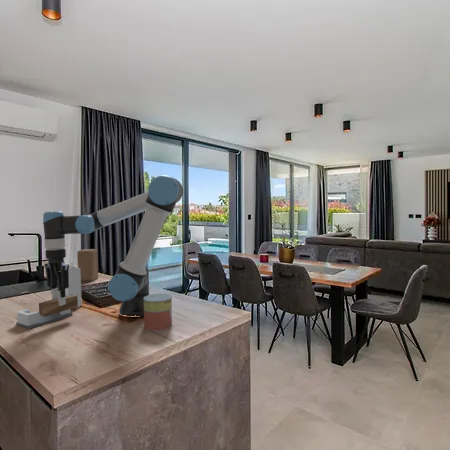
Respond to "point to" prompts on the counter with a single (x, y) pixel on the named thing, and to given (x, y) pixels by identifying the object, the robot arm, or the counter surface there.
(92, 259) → the wooden block
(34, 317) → the endcap rail
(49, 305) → the slat
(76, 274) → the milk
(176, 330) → the counter surface
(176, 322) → the counter surface
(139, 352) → the counter surface
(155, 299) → the canned food
